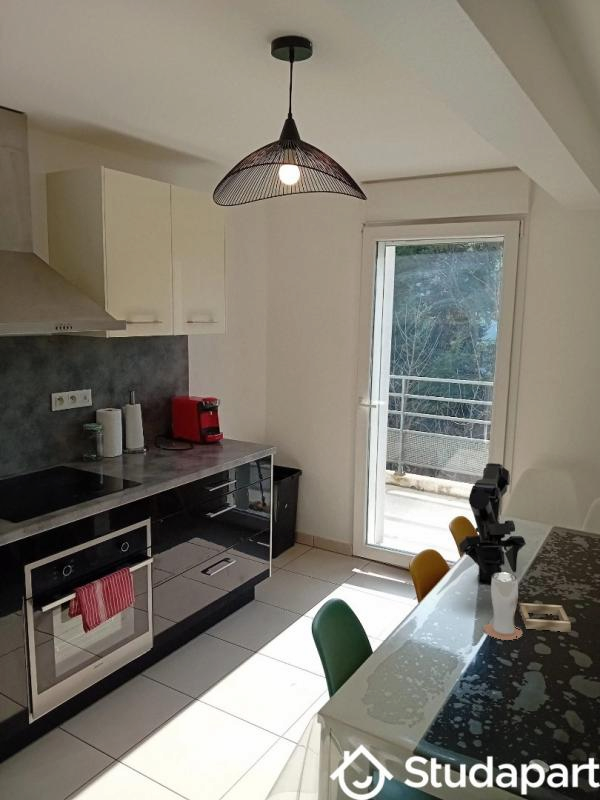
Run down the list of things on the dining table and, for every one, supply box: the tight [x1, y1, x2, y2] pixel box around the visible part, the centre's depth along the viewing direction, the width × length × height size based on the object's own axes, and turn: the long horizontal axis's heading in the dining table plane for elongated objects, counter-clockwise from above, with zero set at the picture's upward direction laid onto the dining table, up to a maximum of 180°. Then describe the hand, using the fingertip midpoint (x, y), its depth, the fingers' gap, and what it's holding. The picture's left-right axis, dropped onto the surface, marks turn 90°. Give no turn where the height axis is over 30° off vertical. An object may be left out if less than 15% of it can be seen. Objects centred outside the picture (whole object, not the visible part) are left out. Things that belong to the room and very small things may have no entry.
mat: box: [483, 622, 523, 641], centre depth 171 cm, size 10×10×1 cm
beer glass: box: [490, 571, 519, 635], centre depth 171 cm, size 7×7×15 cm
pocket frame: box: [519, 602, 572, 633], centre depth 177 cm, size 11×11×2 cm
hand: (500, 572), depth 181 cm, fingers open, 9 cm apart
